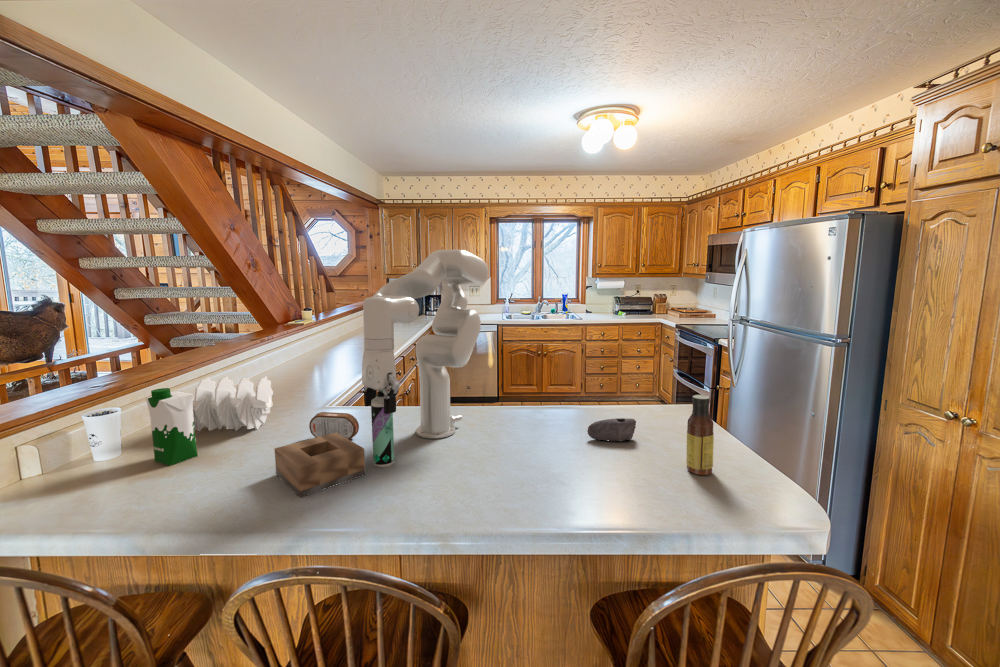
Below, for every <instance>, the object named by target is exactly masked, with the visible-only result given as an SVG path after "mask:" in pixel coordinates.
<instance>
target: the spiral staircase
mask: <svg viewBox="0 0 1000 667" xmlns="http://www.w3.org/2000/svg"><path fill="white" fill-rule="evenodd" d="M239 380H240V381H239V382H238V384H237V386H236V387H235V385H234V379H230V378H229V376H228V375H227V376H224V377H223V378H222V379H221V378H219V380H218V382H216V381H215V380H214V381H213V380H211V377H210V376H207V377H205V378H204V379H203V378H200V380H199V382H198V384H197V386H196V388H195V391H194V397H193V417H194V427H195V430H197V431H198V432H201V430H202V429H203V428H204V427H206V428H208V431H213V430H215V429H218V430H219V431H221V430H222V428H223V427H225V429H226V430H235V432H238V431H239V430H240V429H241V427H242V426H243V427H246V430H250V429H255V430H256V429H258V430H259V429H260V427H261V425H265V424H266V420H267V417H268V414H270V413H271V408H272V407H273V406H274V404H273V398H272V397H273V395H274V391H273V389H272V380H269V379H268V376H267V375H265V376H264V377H259V379H258V382H257V385H256V388H255V390H254V386H255V383H254V382H252V381H251V379H250V377H249V376H248V377H246V378H244V377H241V378H240V379H239ZM216 383H217V384H216ZM220 429H221V430H220ZM238 429H239V430H238ZM237 430H238V431H237Z"/></svg>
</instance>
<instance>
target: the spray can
mask: <svg viewBox="0 0 1000 667" xmlns="http://www.w3.org/2000/svg"><path fill="white" fill-rule="evenodd" d="M384 398H385V395H384V393H383V390H381V391H377V395H376V397H375V398H374V399H372V400H371V402H372V403H371V406H370V410H371V411H370V412H371V432H372V433H371V434H372V435H371V436H372V437H371V438H372V439H371V440H372V459H373V460H372V461H373V462H372V463H373V466H374V465H375V466H374V467H376V466H377V468H388V467H390V465H391V466H392V465H394V464H395V445H394V444H395V443H394V437H395V436H394V413H389V414H385V413H384ZM393 463H394V464H393ZM387 466H388V467H387Z"/></svg>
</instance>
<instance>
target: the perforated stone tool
mask: <svg viewBox="0 0 1000 667" xmlns="http://www.w3.org/2000/svg"><path fill="white" fill-rule="evenodd" d="M636 424H637V420H635V418H621V417H620V418H619V417H618V418H616V417H615V418H607V419H602V420H598V421H597V420H596V421H594V422H593V423H591V424H590V425H588V427H587V435H588V436H589V437H590V438H591V439H593V440H595V439H597V440H596V441H600V440H604V441H605V440H609V441H608V442H611V441H619V442H623V441H624V442H625V440H629V441H628V442H630V441H632V439H633V437H634V434H635V430H636Z"/></svg>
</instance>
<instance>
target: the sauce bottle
mask: <svg viewBox="0 0 1000 667" xmlns="http://www.w3.org/2000/svg"><path fill="white" fill-rule="evenodd" d="M691 398H692V399H691V401H692V412H691V414H690V416H689V418H688V419H687V429H686V469H687V471H689V473H691V472H692V473H691V474H693V473H694V474H695V475H698V476H709V475H711V474H712V473H713V467H714V445H715V444H714V443H715V441H714V440H715V439H714V436H715V435H714V434H715V433H714V421H713V420H712V419H713V418H712V417H711V416H710V411H709V409H710V402H711V398H710V397H709V396H708V395H704V394H695V395H692V397H691Z"/></svg>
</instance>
